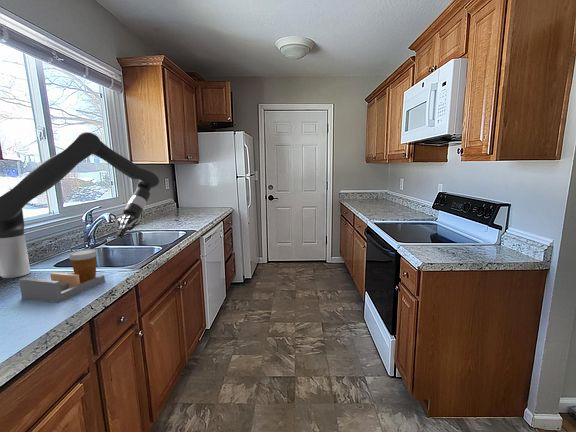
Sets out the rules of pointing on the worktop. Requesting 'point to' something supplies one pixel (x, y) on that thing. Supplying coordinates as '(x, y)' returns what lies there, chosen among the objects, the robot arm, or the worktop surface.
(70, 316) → the worktop surface
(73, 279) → the pusher plate
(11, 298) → the worktop surface
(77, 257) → the disposable coffee cup
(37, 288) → the grey shallow tray
